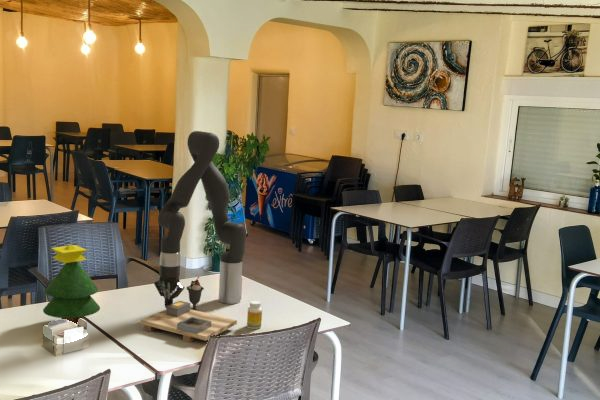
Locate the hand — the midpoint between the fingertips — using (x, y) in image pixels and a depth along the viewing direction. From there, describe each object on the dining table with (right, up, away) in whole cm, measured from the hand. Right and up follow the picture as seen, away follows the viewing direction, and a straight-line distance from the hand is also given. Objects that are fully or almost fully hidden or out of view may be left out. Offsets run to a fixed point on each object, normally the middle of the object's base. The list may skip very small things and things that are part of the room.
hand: (168, 307), depth 241 cm
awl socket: (+12, -4, -16) cm, 21 cm away
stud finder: (+4, -1, -2) cm, 5 cm away
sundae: (+8, -4, +10) cm, 13 cm away
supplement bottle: (+32, -7, -2) cm, 33 cm away
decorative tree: (-32, -5, -12) cm, 35 cm away
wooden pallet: (+9, -6, -8) cm, 14 cm away
